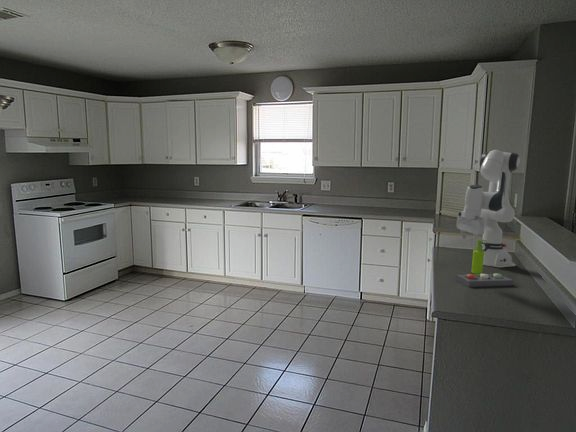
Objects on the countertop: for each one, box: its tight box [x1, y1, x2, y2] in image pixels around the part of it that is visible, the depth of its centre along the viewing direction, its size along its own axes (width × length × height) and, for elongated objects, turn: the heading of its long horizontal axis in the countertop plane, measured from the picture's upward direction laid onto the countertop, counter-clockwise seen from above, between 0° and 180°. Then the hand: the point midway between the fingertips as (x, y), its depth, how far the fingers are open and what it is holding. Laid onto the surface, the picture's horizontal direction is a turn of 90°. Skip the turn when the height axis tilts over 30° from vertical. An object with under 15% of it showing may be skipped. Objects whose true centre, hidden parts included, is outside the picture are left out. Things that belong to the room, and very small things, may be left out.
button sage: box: [492, 272, 503, 279], centre depth 224 cm, size 4×4×3 cm
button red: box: [466, 273, 475, 279], centre depth 221 cm, size 4×4×3 cm
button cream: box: [480, 273, 489, 279], centre depth 223 cm, size 4×4×3 cm
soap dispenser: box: [470, 238, 487, 274], centre depth 241 cm, size 6×7×20 cm
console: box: [455, 273, 514, 288], centre depth 223 cm, size 26×12×3 cm, turn 101°
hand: (468, 240), depth 225 cm, fingers open, 8 cm apart
